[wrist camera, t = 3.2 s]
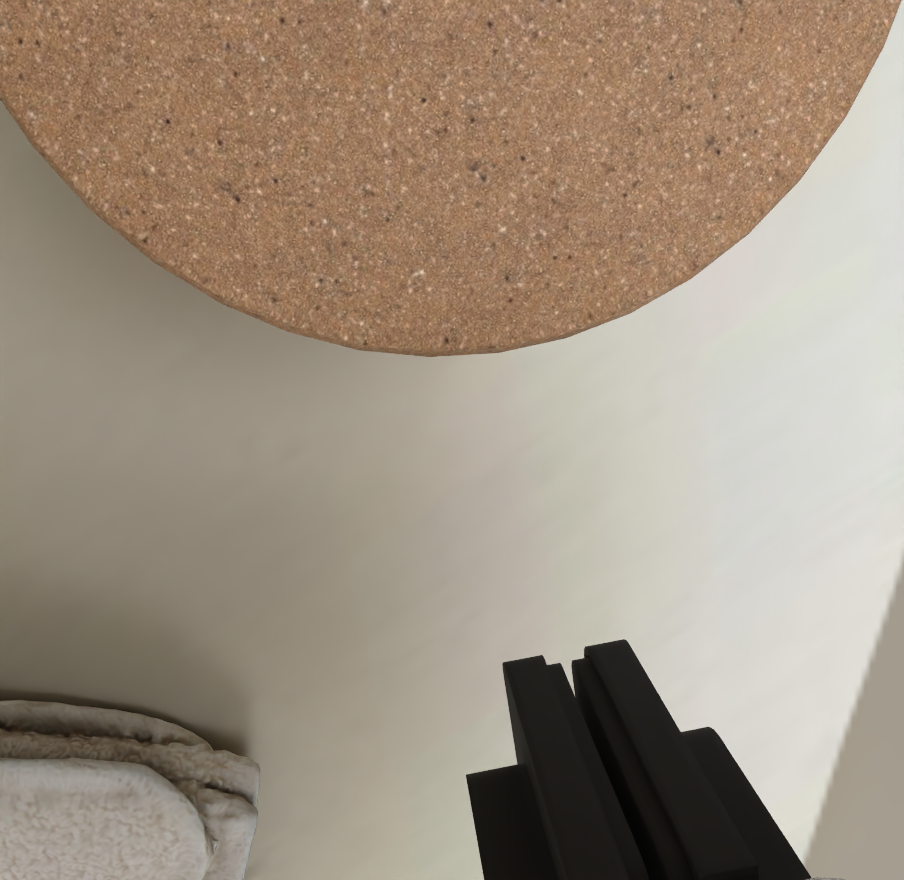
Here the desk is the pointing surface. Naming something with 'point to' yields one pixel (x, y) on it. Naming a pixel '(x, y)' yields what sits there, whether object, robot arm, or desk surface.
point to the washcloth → (119, 798)
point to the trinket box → (434, 147)
